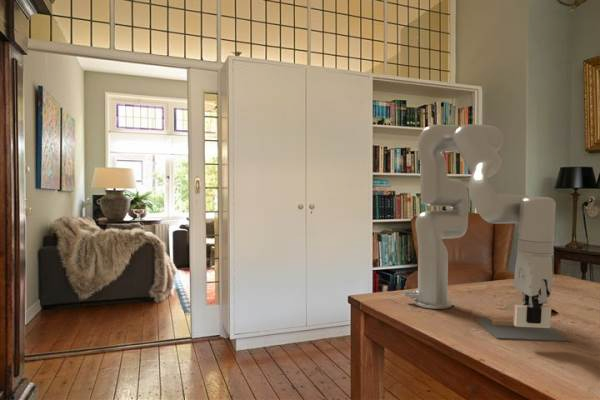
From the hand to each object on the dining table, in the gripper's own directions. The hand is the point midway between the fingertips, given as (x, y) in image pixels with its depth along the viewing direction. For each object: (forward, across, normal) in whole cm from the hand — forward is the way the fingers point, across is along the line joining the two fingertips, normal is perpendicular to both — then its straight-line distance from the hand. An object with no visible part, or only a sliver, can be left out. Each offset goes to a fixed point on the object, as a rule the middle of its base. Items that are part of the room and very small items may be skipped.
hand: (531, 321), depth 100 cm
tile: (+1, 0, 0) cm, 1 cm away
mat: (+7, -12, +2) cm, 14 cm away
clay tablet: (+8, -32, +14) cm, 36 cm away
